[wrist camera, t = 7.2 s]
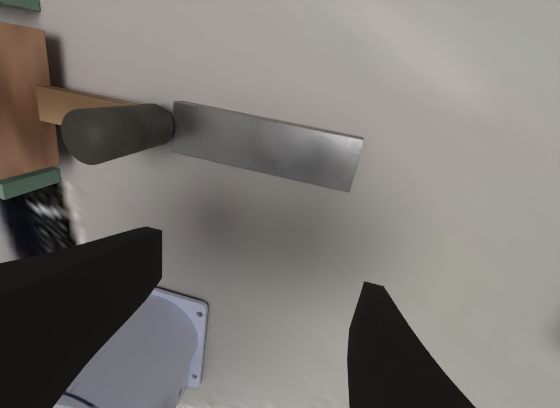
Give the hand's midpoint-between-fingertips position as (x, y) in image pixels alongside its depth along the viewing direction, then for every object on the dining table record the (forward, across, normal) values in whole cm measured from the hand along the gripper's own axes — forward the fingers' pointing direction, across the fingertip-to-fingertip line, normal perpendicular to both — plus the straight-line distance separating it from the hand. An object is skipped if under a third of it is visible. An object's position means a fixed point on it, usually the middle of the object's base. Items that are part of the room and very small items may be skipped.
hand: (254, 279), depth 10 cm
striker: (+8, +13, -3) cm, 15 cm away
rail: (+9, +2, -3) cm, 10 cm away
